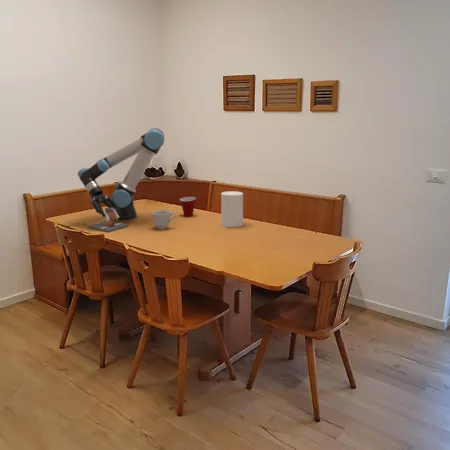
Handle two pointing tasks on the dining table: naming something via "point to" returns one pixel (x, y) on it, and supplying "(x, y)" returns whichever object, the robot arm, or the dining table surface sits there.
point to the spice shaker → (110, 217)
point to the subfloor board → (104, 228)
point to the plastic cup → (188, 205)
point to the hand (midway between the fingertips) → (113, 219)
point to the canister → (232, 209)
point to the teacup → (162, 218)
